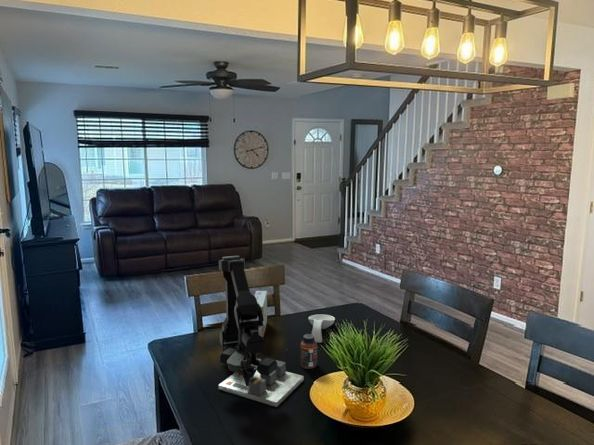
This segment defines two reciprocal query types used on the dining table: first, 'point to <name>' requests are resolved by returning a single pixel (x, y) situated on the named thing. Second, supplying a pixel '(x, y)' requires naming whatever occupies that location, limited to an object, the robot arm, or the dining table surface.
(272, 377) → the block
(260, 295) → the snack box
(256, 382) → the grey cube
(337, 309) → the dining table surface
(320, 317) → the spoon rest
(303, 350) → the supplement bottle
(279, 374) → the block
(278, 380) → the panel
